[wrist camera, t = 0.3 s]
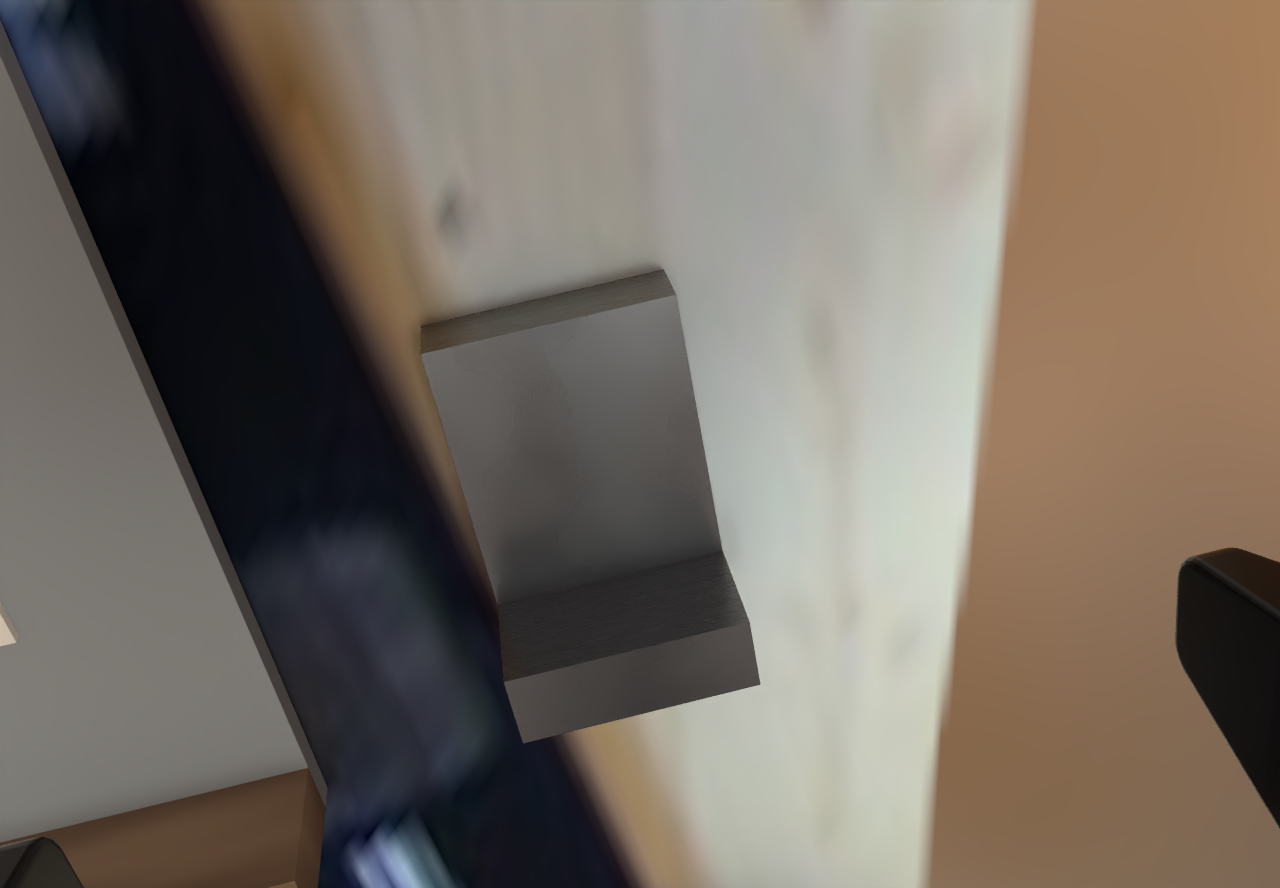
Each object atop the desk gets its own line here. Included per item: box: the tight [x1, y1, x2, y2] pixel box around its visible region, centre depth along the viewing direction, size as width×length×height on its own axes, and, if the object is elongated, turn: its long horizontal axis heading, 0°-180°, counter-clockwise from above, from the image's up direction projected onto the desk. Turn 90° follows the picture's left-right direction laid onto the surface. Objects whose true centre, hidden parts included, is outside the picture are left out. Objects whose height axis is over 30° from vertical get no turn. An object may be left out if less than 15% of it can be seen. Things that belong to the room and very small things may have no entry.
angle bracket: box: [420, 269, 760, 743], centre depth 22 cm, size 7×4×4 cm, turn 10°
